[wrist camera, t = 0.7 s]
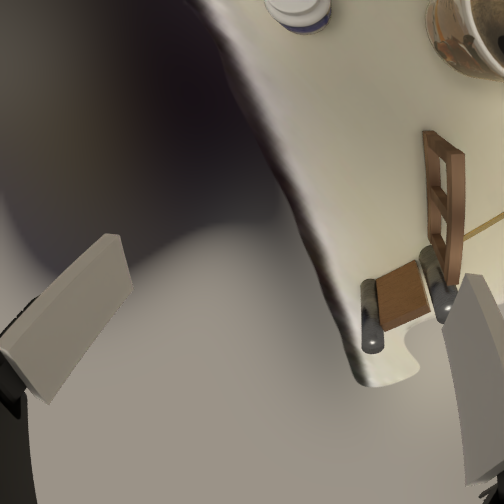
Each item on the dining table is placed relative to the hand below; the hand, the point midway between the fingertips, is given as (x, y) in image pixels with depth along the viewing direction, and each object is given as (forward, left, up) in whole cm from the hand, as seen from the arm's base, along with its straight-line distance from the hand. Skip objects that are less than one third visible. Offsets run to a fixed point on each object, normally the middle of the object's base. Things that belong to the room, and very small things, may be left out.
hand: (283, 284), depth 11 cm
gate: (-8, +10, -23) cm, 26 cm away
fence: (-6, +18, -24) cm, 31 cm away
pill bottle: (-7, -11, -24) cm, 27 cm away
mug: (-21, 0, -24) cm, 31 cm away
